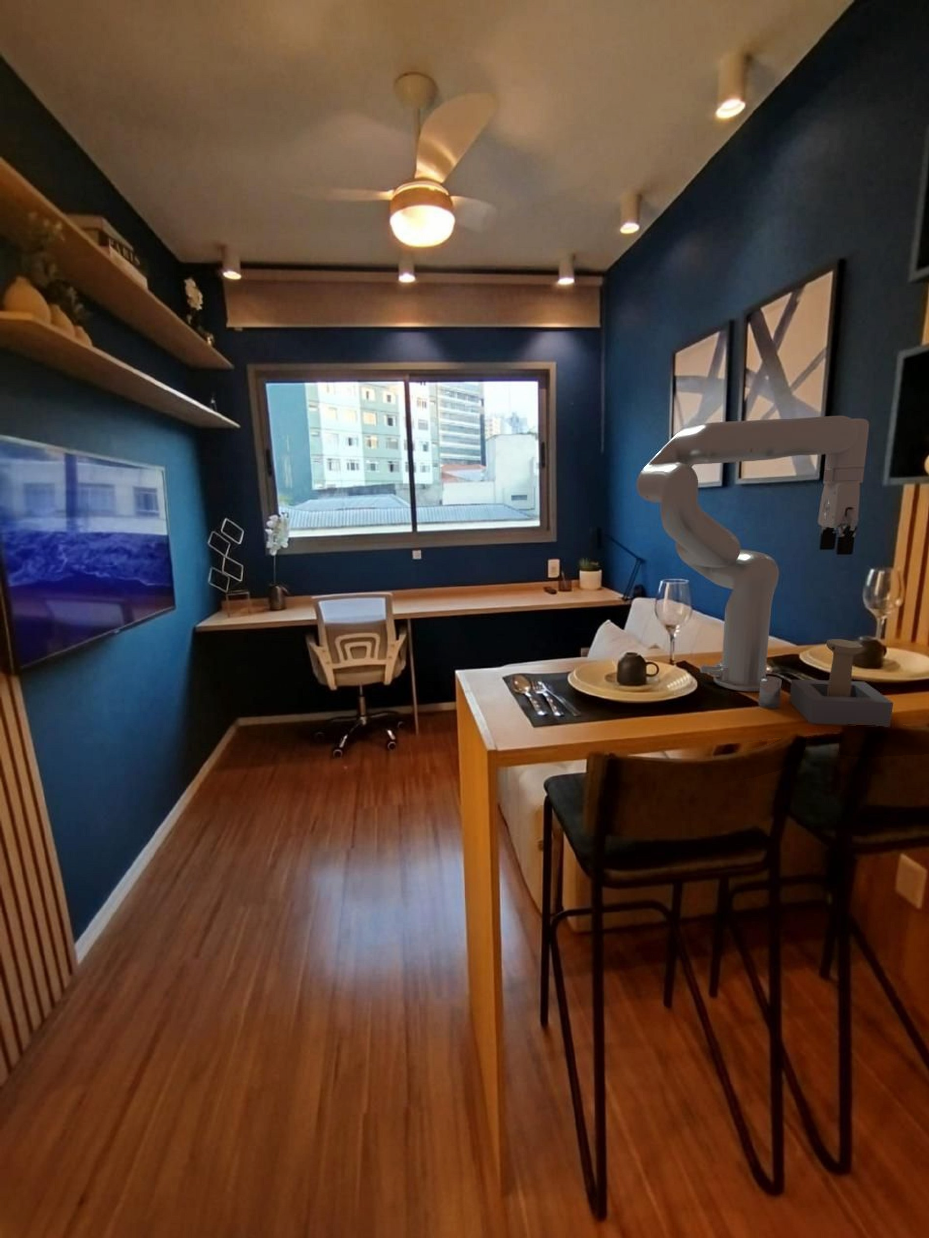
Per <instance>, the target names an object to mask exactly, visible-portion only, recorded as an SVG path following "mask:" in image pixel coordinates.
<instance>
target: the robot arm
mask: <svg viewBox="0 0 929 1238" xmlns="http://www.w3.org/2000/svg"><path fill="white" fill-rule="evenodd" d="M869 427H870V422H869V421H868V419H865V418H851V417H849V416H846V415H829V416H815V417H814V416H813V417H800V418H799V417H798V418H774V419H773V418H771V419H768V418H767V419H755V420H752V419H751V420H737V421H736V420H735V421H719V422H718V421H717V422H707V423H702V424H697V425H696V424H695V425H691V426H687V427H685V428H683V429H681V430H680V431H679V432H678V433H676V434H675V435H674V436H673V437H672V438H671V439H670V440H669V441H668V442H667V443H666V444H665V445H664V446H663V447H662V448H661V449H660V450H659V452H657V454H655V456H654V457H653V458H652V459H650V460H649V462H648V463H647V464H646V465H645V466H644V467H643V468H642V470H641V471H640V473H639V475H638V477H637V480H636V490H637V492H638V494H639V496H640V497H641V498H642V499H643V500H645V501H648V502H651V503H660V519H661V523H662V527H663V530H664V531H665V532H666V534H667V535H668V536H669V537H670V538H671V539H673V540H674V541H675V551H676V554H677V555H678V556H679V558H680V559H681V560H682V562H684V564H686V565H687V566H689V568H692V569H693V570H694V571H696V572H697V573H698V574H700V575H702V576H703V577H705V578H706V580H709V581H710V582H712V583H713V584H715V585H718V586H720V587H723V588H726V589H731V590H732V592H731V594H730V596H729V598H728V600H727V602H726V605H725V610H724V624H723V638H722V657H721V660H718V662H717V663H715V664H714V665H709V664H700V668H699V669H700V670H699V671H700V674H701V673H702V674H707V675H708V676H713V682H714V683H715V684H716V685H718V686H721V687H722V688H725V689H728V690H734V691H741V692H759V690H760V678H761V677H763V676H766V673H767V672H766V671H767V660H768V648H769V635H770V626H771V625H770V624H771V613H772V612H771V611H772V604H773V597H774V594H775V592H776V591H775V590H776V588H777V585H778V582H779V577H780V571H779V567H778V563H777V562H776V561H775V559H774V558H772V557H771V556H770V555H768V554H766V553H764V552H759V551H754V550H749V549H748V550H747V549H742V548H741V544H740V541H739V539H738V538H737V536H736V535H735V534H734V533H733V532H731V530H729V529H727V528H726V527H725V526H723V525H722V524H720V522H718V521H716V520H715V519H714V518H712V517H711V516H710V515H709V514H708V513H706V511H704V510H703V509H702V508H701V506H700V504H699V499H698V494H699V477H698V474H697V473H696V470H695V469H694V468H693V466H695V465H705V464H707V465H710V464H725V463H741V462H755V461H769V460H778V459H782V458H789V457H795V456H797V457H798V456H817V455H825V461H824V469H823V470H824V471H823V483H822V484H824V486H823V490H822V494H821V499H820V505H819V512H818V518H817V524H818V525H820V526H821V527H820V536H819V537H820V539H819V550H820V551H828V550H829V551H830V550H831V551H833V550H835V554H836V555H837V556H840V555H842V556H844V555H845V556H848V555H853V553H854V546H855V544H854V543H855V538H856V535H857V534H856V531H857V530H858V526H857V525H858V523H859V511H860V491H861V490H860V489H861V487H860V486H861V485H860V483H863V482H864V474H865V464H866V458H867V456H866V455H867V448H868V447H867V445H868V439H869V437H868V436H869V430H870V428H869ZM837 529H838V530H837ZM836 530H837V531H838V534H839V536H837V532H836ZM836 539H837V540H836ZM835 548H836V549H835Z"/></svg>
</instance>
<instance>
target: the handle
mask: <svg viewBox="0 0 929 1238" xmlns="http://www.w3.org/2000/svg"><path fill="white" fill-rule="evenodd" d="M826 647H827V648H828V649H829V651H831V652H832V653H833V654H832V662H831V668H830V673H829V679H828V681H829V683H828V691H827V696H829V697H850V693H851V681H852V679H853V678H852V674H853V661H854V656H856V655H859V654H861V653H863V648H864V646H863V645H862V644H861V643H858V642H855V641H852V640H847V639H841V638H833V639H827V640H826Z"/></svg>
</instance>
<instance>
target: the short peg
mask: <svg viewBox="0 0 929 1238" xmlns="http://www.w3.org/2000/svg"><path fill="white" fill-rule="evenodd" d="M781 693H782V679H781V678H779V677H777V676H771V675H770V676H769V675H768V676H767V675H765V676H763V677H761V678H760V690H759V691H758V701H757V702H758V706H759V707H760V708H763V709H768V710H778V709H779V708H780V704H781V703H780V702H781Z"/></svg>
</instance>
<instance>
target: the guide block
mask: <svg viewBox="0 0 929 1238" xmlns="http://www.w3.org/2000/svg"><path fill="white" fill-rule="evenodd" d="M828 683H829V680H820V679H818V680H816V679H815V680H814V679H812V680H811V679H791V681H790V693H789V702H790V704H791V705H793V707H794V708H795V709H796V710H797V712H799V714H800V715H802V717H803V718H804V719H805V720H806V721H807V722H808V723H809V724H811V725H816V724H817V725H834V726H835V725H837V726H848V725H847V724H865V725H876V726H875V727H878V726H884V727H883V728H890V727H891V723H892V722H891V721H892V720H891V719H892V716H893V715H892V714H893V706H894V702H893V701H891V700H890V699H889V698H887V697H886V696H884V695H883V694H882V693H881V692H879V691H878V690H877V689H875V688H874V687H872V686H871V685H870V684H868V683H867V682H866V681H853V680H851V693H850V697H829V696H827V691H828Z"/></svg>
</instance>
